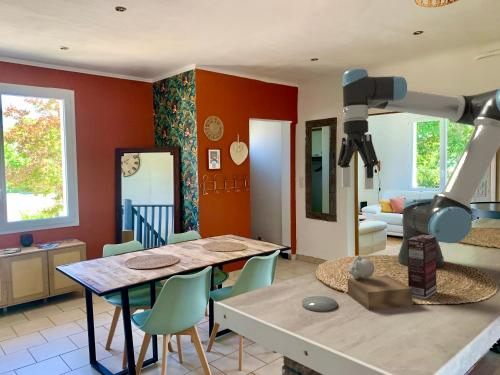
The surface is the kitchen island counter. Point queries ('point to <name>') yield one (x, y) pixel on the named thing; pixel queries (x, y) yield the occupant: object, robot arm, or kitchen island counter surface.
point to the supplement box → (422, 266)
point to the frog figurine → (361, 267)
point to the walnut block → (379, 292)
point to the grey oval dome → (319, 303)
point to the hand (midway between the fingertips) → (356, 188)
